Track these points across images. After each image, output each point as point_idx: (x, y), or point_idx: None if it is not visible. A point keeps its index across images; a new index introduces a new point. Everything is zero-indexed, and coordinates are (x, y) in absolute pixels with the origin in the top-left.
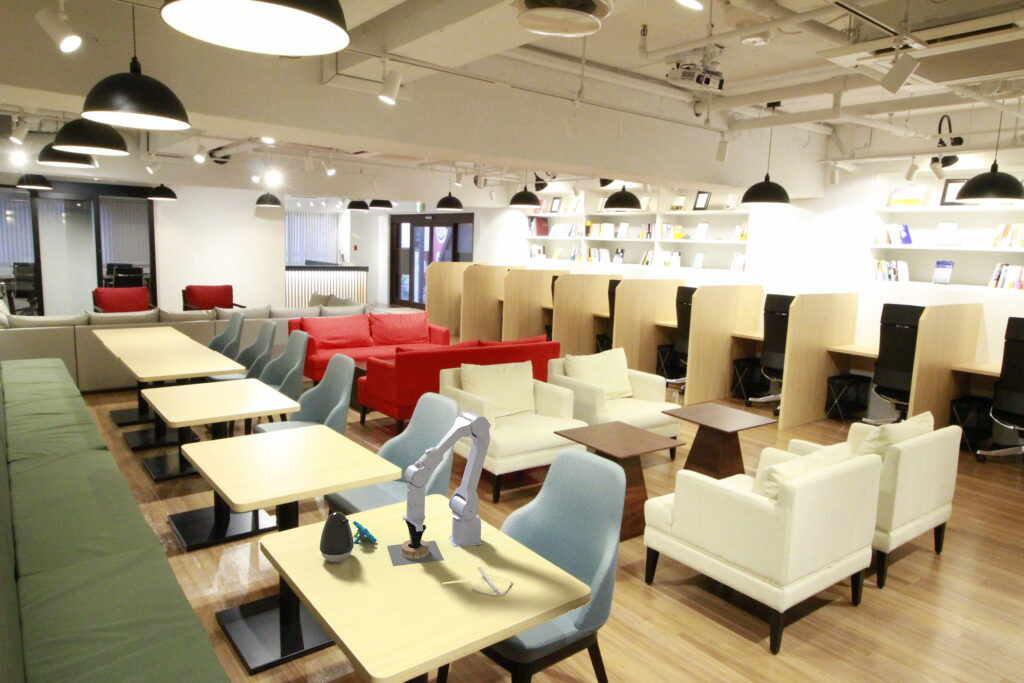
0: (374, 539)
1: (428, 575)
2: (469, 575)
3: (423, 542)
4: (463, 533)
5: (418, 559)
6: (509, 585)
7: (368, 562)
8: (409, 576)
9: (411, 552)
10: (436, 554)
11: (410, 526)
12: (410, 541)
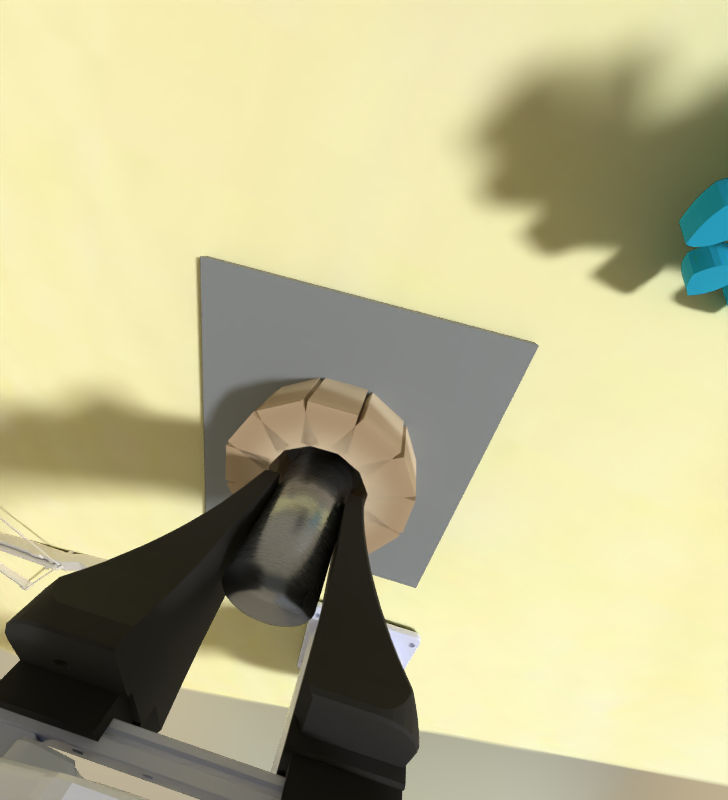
0: (709, 263)
1: (90, 402)
2: (82, 527)
3: None
4: (292, 701)
5: None
6: (4, 573)
7: (358, 63)
8: (84, 309)
9: (239, 428)
10: None
11: (68, 652)
12: (303, 487)
